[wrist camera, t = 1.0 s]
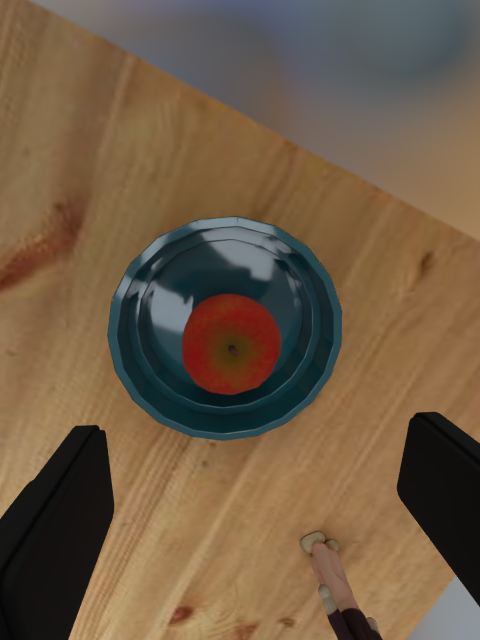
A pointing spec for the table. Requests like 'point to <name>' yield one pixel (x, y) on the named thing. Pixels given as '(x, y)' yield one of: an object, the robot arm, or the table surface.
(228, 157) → the table surface
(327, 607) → the grandmother figurine
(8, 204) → the table surface
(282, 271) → the bowl
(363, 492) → the table surface
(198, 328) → the apple
